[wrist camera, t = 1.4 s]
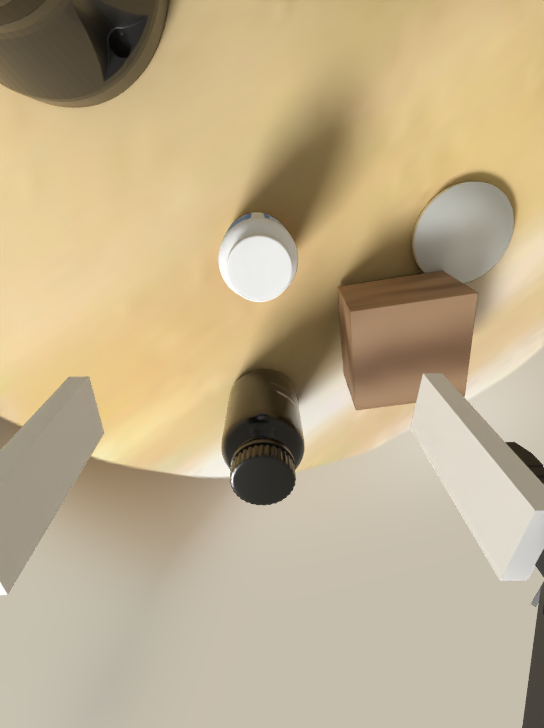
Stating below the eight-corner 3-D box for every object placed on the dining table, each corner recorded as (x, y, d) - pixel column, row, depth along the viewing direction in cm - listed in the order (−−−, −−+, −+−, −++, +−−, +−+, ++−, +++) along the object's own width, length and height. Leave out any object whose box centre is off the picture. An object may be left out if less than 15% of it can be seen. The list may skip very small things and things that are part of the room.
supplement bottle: (303, 373, 36) (323, 453, 25) (287, 429, 39) (298, 522, 28) (235, 360, 35) (225, 437, 24) (223, 418, 38) (209, 510, 27)
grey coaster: (421, 181, 29) (425, 181, 28) (520, 182, 29) (527, 181, 28) (404, 282, 32) (407, 284, 31) (492, 282, 32) (498, 284, 32)
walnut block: (337, 286, 32) (350, 311, 26) (442, 270, 31) (477, 293, 26) (343, 373, 36) (355, 410, 31) (435, 361, 35) (464, 396, 30)
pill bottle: (227, 279, 31) (215, 314, 23) (222, 212, 29) (207, 222, 20) (290, 277, 32) (302, 312, 23) (290, 211, 29) (304, 220, 20)
